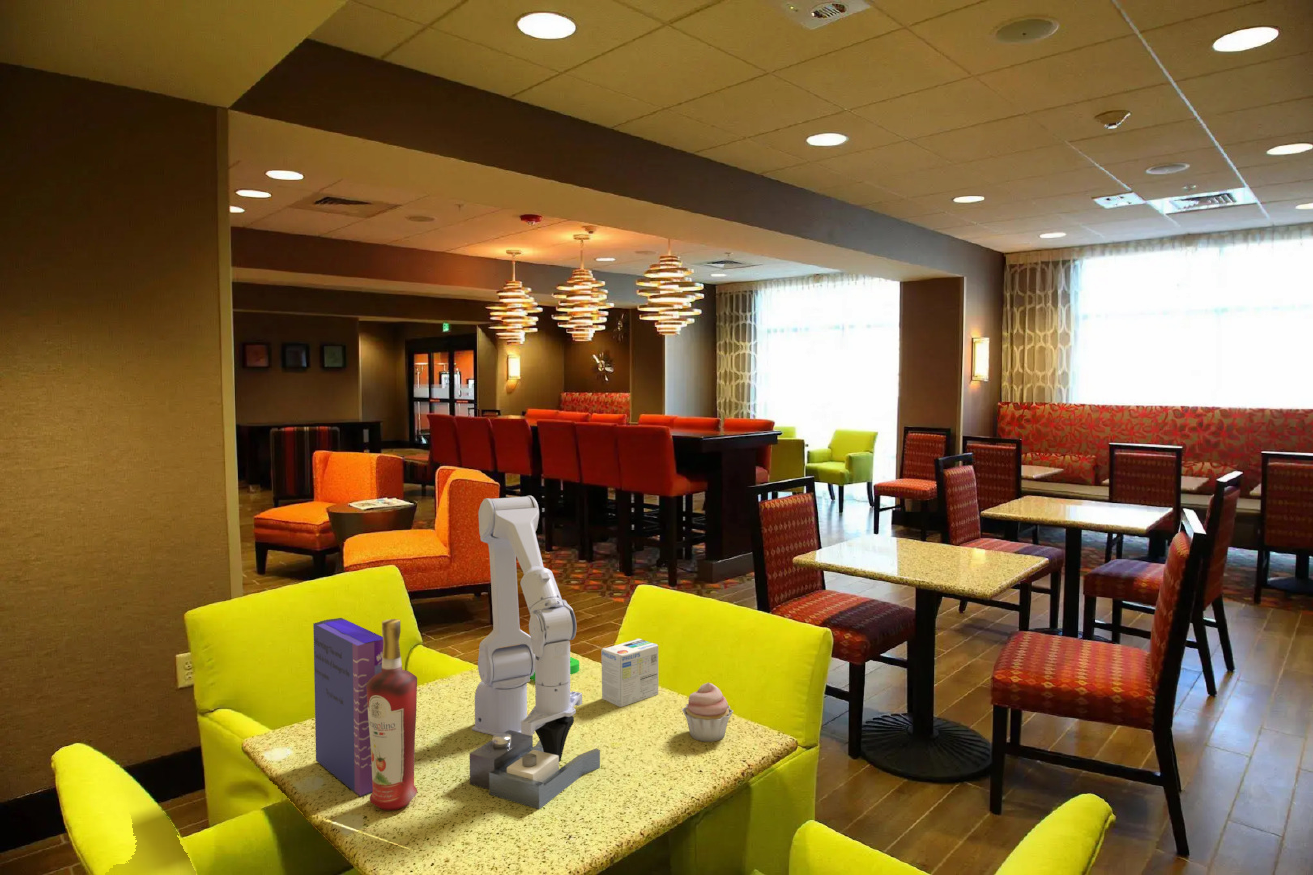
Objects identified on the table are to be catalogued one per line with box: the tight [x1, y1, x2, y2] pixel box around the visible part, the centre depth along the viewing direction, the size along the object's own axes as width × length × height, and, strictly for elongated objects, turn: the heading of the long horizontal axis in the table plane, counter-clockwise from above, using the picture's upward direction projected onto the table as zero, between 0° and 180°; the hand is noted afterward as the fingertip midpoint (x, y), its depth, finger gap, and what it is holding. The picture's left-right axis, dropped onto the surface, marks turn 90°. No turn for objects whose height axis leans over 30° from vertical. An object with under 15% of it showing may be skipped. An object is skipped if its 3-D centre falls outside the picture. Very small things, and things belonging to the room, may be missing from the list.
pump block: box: [507, 750, 560, 782], centre depth 120 cm, size 5×7×6 cm
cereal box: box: [313, 617, 384, 798], centre depth 125 cm, size 17×5×24 cm, turn 45°
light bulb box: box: [600, 638, 659, 708], centre depth 158 cm, size 11×7×11 cm, turn 133°
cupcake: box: [681, 682, 734, 743], centre depth 139 cm, size 9×9×10 cm
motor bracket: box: [469, 730, 601, 810], centre depth 124 cm, size 16×16×6 cm
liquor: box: [366, 618, 418, 812], centre depth 115 cm, size 7×7×28 cm
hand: (553, 761), depth 125 cm, fingers closed
